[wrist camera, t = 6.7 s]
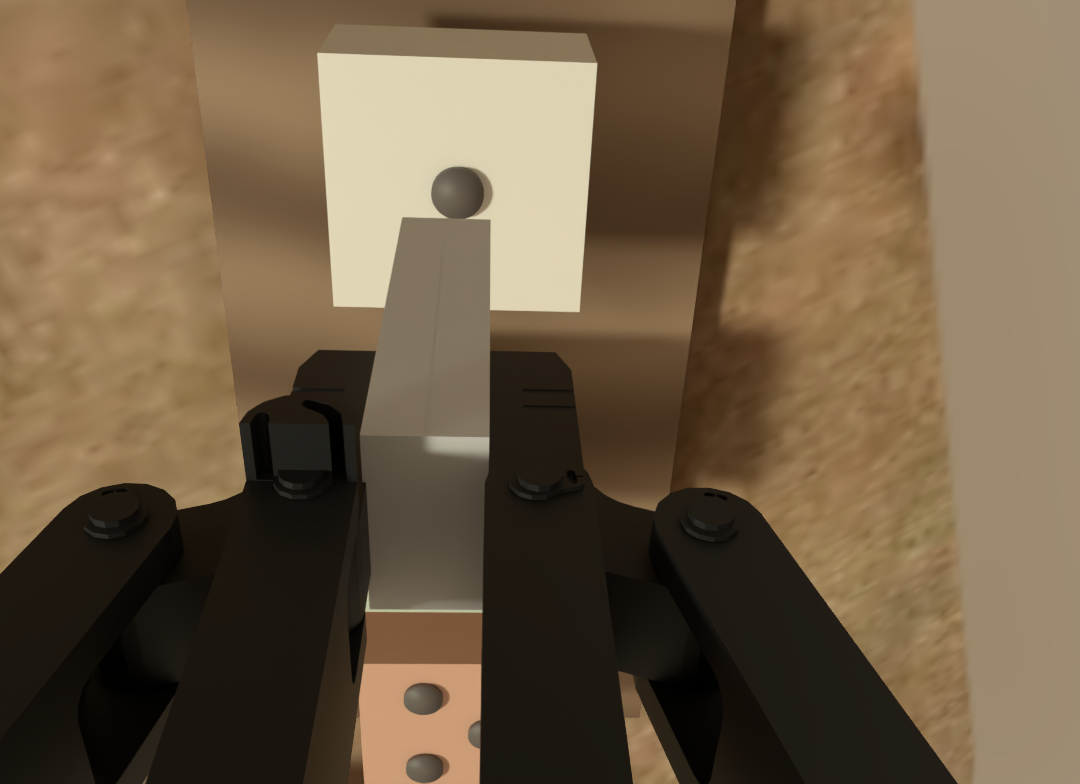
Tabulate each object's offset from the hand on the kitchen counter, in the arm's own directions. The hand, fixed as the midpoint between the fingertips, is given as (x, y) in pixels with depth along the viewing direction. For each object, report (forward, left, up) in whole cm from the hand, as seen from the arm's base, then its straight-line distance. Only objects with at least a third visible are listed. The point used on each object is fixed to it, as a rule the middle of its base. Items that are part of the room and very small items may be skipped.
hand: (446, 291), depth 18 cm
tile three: (+18, 0, -9) cm, 21 cm away
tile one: (0, 0, -9) cm, 9 cm away
